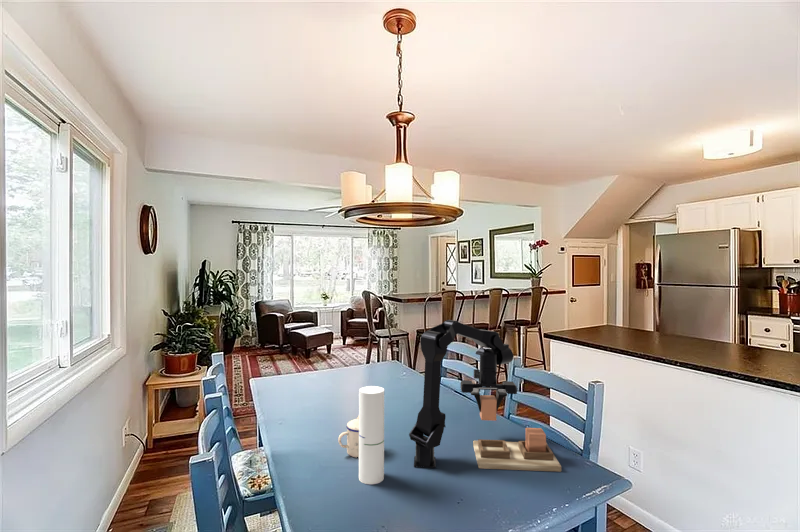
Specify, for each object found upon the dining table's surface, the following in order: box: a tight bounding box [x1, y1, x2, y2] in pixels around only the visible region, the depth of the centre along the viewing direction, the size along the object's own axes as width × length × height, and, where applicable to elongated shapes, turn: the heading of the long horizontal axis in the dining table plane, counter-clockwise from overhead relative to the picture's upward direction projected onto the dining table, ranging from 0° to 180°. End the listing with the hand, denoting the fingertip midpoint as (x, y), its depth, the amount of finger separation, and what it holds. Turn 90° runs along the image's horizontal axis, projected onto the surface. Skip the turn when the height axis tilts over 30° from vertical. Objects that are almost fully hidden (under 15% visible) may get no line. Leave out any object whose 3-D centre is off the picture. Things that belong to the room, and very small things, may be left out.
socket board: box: [472, 427, 562, 473], centre depth 131 cm, size 16×24×8 cm, turn 86°
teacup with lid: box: [337, 415, 359, 459], centre depth 133 cm, size 12×9×12 cm
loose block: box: [479, 394, 497, 422], centre depth 144 cm, size 5×5×7 cm
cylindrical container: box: [358, 385, 385, 485], centre depth 118 cm, size 7×7×25 cm
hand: (488, 411), depth 144 cm, fingers closed on loose block, 5 cm apart
